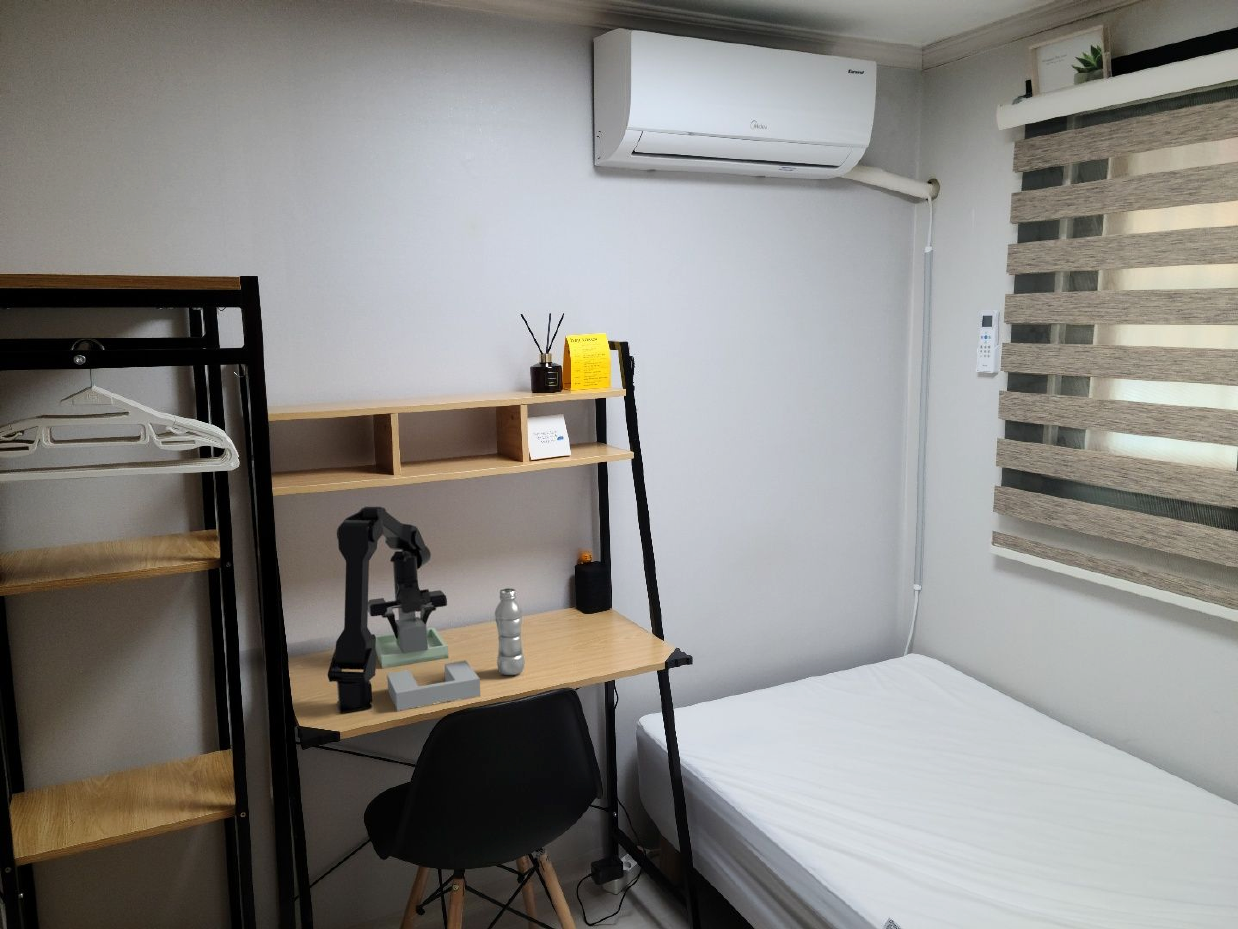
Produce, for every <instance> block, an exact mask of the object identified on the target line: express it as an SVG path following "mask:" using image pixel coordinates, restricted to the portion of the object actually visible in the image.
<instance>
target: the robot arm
mask: <svg viewBox="0 0 1238 929" xmlns="http://www.w3.org/2000/svg"><path fill="white" fill-rule="evenodd" d="M382 536H383V537H385V539H384V540H385V541H384V542H385V544H386V545H387V546H388V548H389V549H392V550H394V553H393V555H392V556H391V558H390V562H391V563H392V570H393V584H394V599H395V600H391V601H386V600H385V599H384V597H380V598H379V597H378V598H373V599H372V598H371V599H369V581H370V580H369V577H370V576H369V574H370V573H369V570H370V568H369V567H370V561H371V559H372V557H373V556H374V554H375V552H376V551H377V548H378V541H379V539H380V538H381V537H382ZM336 539H337V543H338V551H339V552H340V554H341V555H342V557H343V559H344V560H345V581H344V582H345V584H344V592H345V593H344V621H343V622H344V624H343V625H344V626H343V630H342V632H341V633H340V634H339V636H338V638H337V639H336V641H335V649H334V652H333V655H332V658H331V661H330V665H329V668H328V671H327V678H328V679H327V680H328V682H330V683H331V682H333V683H334V682H336V688H337V689H336V690H337V701H336V704H337V706H338V710H339V713H340V714H347V713H353V712H357V711H362V710H368V709H372V708H373V707H372V703H373V687H372V683H371V681H370V680H372V679H373V678H374V677H375V676H376V668H377V659H378V658H377V653H376V637H375V636H376V635H375V634H374V633H371V631H370V629H369V627H368V621H369V620H368V619H369V618H368V617H369V616H370V617H379V616H381V617H382V618H383V619H387V621H388V622H389V626H390V627H391V629H392V632H393V634H394V635H395V637H396V639H397V638H398V634H397V627H396V622H395V620H396V614H395V612H394V610H393V609H398V608H402V612H403V613H409V612H415V613H416V612H417V613H420V614H419V618H420V619H421V620H422V621H423V622H424V624H425V625H426V626H427V622H428V619H429V618H430V615H431V613H432V612H433V611H434V612H435V611H436V610H437V608H443V607H447V606H448V598H447V595H446V594H445V593H444V592H443V591H442V590H441V589H439V590H433V591H430V590H429V588H427V589H426V588H425V589H420V586H419V578H418V570H419V569H421V568H422V567H423V566H425V565H426V564H428V563H429V561H430V559H431V556H432V554H431V551H430V549H429V547H428V546H427V545H426V543H425V541H424V539H423V537H422V533H421V532H420V530H419V529H418V527H417V526H416V525H413V524H408V523H402V522H400V521H399V520H398V519H396V518H395V517H394V516H392V514H390V513H388V511H387V509H386V508H385V507H383V506H364V507H362V508H360V510H359V511H357V512H356V513H353V514H351V515H349V516H348V517H346V518H345V519H344V520H343V521H342V522H341V523H340V525H339V526H338V527H337V529H336ZM344 670H348V671H344ZM349 670H356V671H349ZM358 670H360V671H358ZM361 670H362V671H361Z"/></svg>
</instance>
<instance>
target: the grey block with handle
mask: <svg viewBox="0 0 1238 929" xmlns="http://www.w3.org/2000/svg"><path fill="white" fill-rule="evenodd" d="M397 611H398V612H397V613H398V619H395V622H396V627H397V634H398V638H397V639H396V644H397V645H398V647H399V648H400V650H401V651H402V653H403V654H405V653H411V652H417V651H424V650H428V643H427V624H426V625H425V624H424V622H423V621H422V620H421V619H420V616H416V611H415V612H409V613H403V612H402V608H397Z"/></svg>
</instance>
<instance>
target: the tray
mask: <svg viewBox="0 0 1238 929" xmlns="http://www.w3.org/2000/svg"><path fill="white" fill-rule="evenodd" d="M426 628H427V627H426ZM375 637H376V653H377V657H378V658H377V660H378V659H379V660H378V662H379V664H380V666H382V667H381V668H382V669H388V668H395V667H401V666H407V665H413V664H419V663H424V662H431V661H437V660H444V659H448V658H449V656H450V655H449V645H448V644H447V642H446V641H445V640H444V639H443V637H442V635H441V634H440V633H439V632H438V630H437V629H436V628H435V627H429V628H427V643H428V650H424V651H417V652H411V653H405V654H403V653H402V651H401V650H400V648H399V647H398V645H397V644H396V637H395V635H394V633H389V634H382V635H375ZM418 662H419V663H418ZM412 663H413V664H412Z"/></svg>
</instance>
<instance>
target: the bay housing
mask: <svg viewBox="0 0 1238 929" xmlns="http://www.w3.org/2000/svg"><path fill="white" fill-rule="evenodd" d="M444 677H445V681H444V682H437V683H433V684H428V685H422V686H421V685H420V686H419V685H418V683H417V681H416V679H415V677H414V676H413V674H412V672H411V670H410V669H405V670H399V671H395V672H390V673H389V672H388V673H386V679H387V681H386V682H387V692H388V693H389V695H390V698H391V700H392V703H393V702H394V703H393V704H395V705H394V706H396V707H395V708H396V712H400V710H402V711H406V710H405V709H407V710H410V709H409V708H413V709H416V708H415V707H418V706H423V705H429V706H431V705H430V704H433V703H437V702H445V703H448V702H447V701H451V702H455V701H454V700H456V701H459V700H458V699H461V700H466V699H472V698H476V696H478V697H481V682H480V681H481V680H480V677H479V676H478V675H477V673H476V672H475V670H474V669H473V668H472V666H471V665H470V664H469V662H468V661H467V660H466V659H465V660H460V661H455V662H448V663H444ZM418 708H419V707H418Z"/></svg>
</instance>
